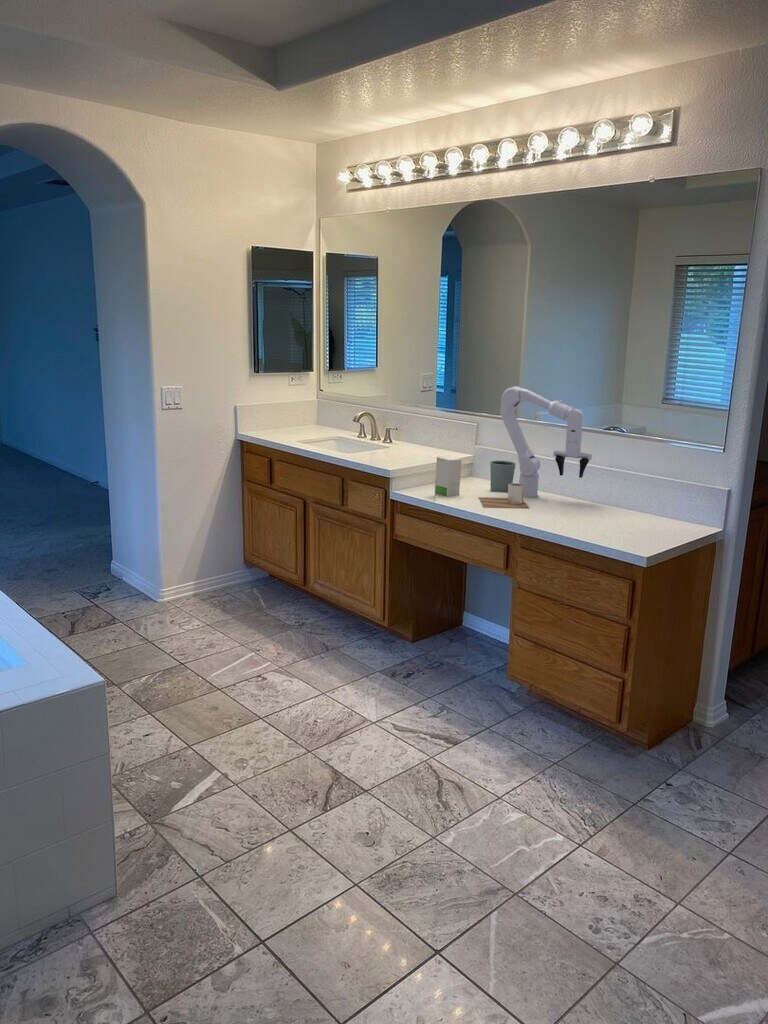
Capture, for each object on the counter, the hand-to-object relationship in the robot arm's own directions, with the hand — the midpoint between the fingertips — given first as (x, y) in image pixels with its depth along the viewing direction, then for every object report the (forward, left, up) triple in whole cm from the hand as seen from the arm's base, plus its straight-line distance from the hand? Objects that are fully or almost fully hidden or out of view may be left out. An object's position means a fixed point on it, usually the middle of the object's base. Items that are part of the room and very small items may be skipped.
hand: (571, 476), depth 310 cm
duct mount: (+9, -27, -10) cm, 30 cm away
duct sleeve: (+9, -23, -9) cm, 26 cm away
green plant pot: (-17, -24, -10) cm, 31 cm away
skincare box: (-6, -47, -10) cm, 48 cm away
